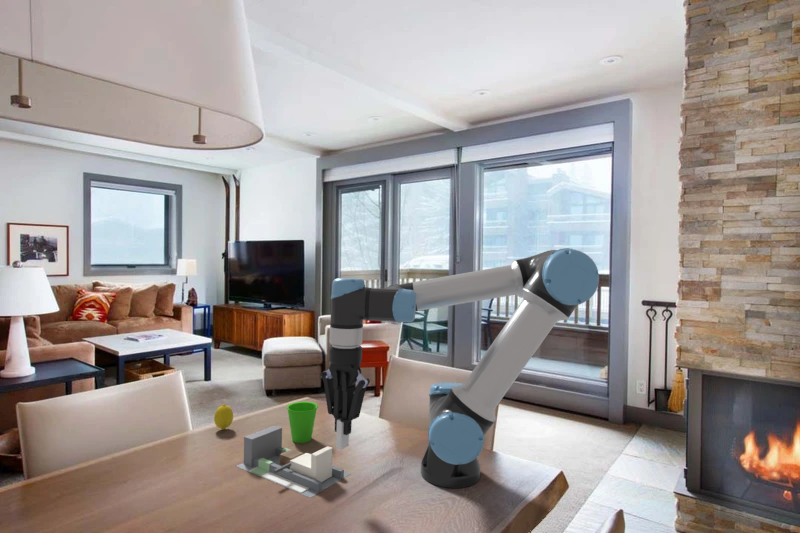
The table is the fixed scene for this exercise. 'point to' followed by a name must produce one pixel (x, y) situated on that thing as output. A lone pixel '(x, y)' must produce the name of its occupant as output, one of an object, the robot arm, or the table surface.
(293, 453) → the tan wooden cube
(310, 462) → the cream block
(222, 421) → the lemon
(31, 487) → the table surface
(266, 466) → the base
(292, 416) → the cup
